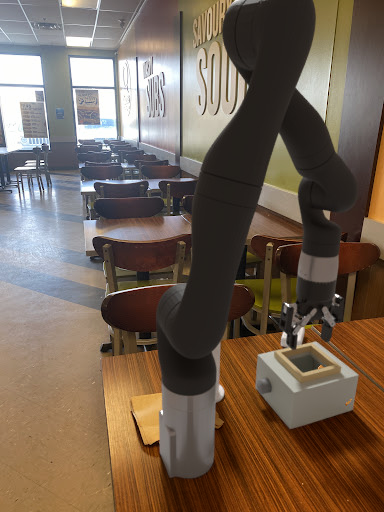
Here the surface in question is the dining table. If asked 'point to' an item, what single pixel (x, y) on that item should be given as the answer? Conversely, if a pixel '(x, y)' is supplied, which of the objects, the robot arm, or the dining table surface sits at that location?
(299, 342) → the soap
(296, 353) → the box
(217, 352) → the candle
